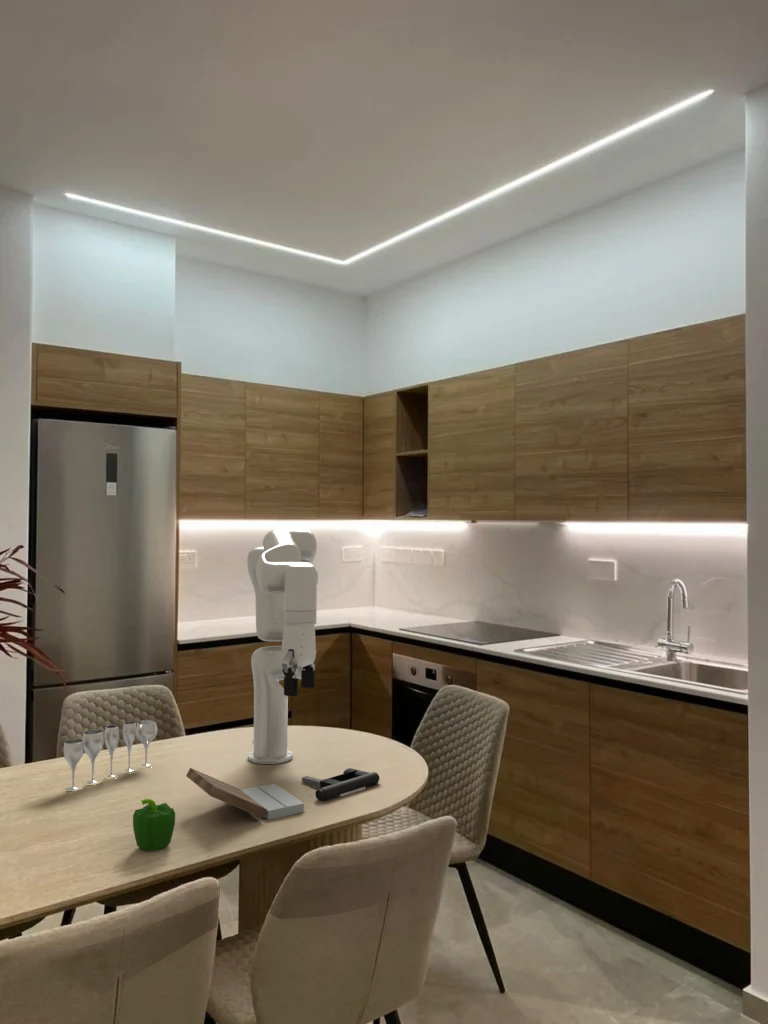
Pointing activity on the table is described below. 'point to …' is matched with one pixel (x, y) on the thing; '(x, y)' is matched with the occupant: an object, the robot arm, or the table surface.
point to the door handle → (342, 783)
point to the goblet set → (107, 744)
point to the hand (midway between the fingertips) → (299, 691)
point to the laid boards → (275, 801)
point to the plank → (225, 792)
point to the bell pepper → (153, 825)
